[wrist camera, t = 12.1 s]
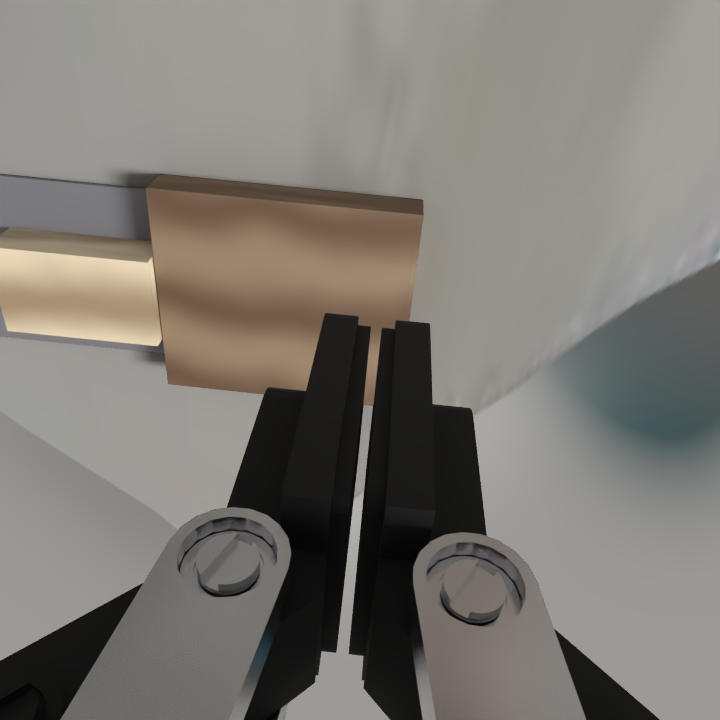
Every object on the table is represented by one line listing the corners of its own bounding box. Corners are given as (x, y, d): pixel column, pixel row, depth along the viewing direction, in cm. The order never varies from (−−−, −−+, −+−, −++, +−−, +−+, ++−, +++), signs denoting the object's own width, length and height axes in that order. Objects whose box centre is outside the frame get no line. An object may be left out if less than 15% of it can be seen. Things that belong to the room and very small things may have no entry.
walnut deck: (159, 174, 39) (145, 187, 37) (423, 200, 39) (423, 215, 37) (179, 363, 47) (168, 384, 45) (398, 386, 46) (397, 408, 44)
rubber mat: (-62, 167, 40) (-65, 169, 40) (161, 190, 39) (159, 191, 39) (-14, 332, 46) (-16, 334, 46) (177, 352, 46) (176, 354, 46)
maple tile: (10, 227, 41) (-17, 246, 39) (163, 242, 41) (147, 262, 39) (30, 308, 45) (7, 330, 42) (172, 323, 44) (157, 346, 42)
